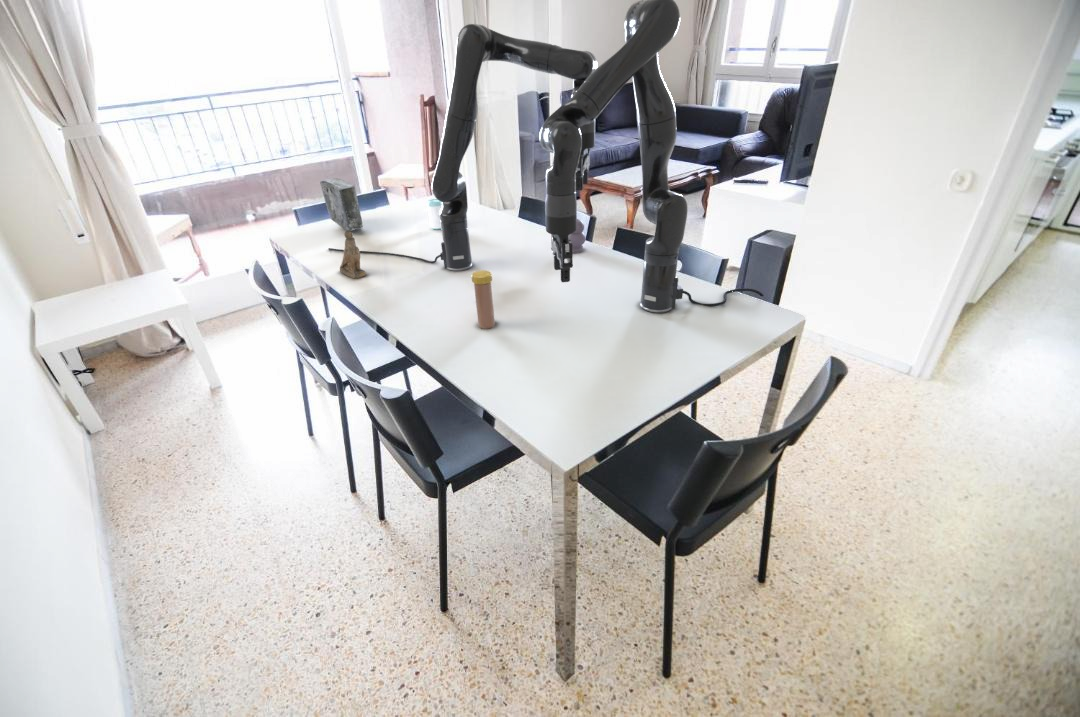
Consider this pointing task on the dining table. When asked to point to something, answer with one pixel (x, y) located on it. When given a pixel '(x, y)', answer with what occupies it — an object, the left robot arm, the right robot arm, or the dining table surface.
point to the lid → (481, 277)
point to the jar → (484, 305)
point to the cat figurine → (577, 237)
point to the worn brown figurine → (351, 258)
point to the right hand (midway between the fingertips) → (561, 275)
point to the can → (434, 213)
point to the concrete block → (342, 203)
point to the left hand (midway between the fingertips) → (581, 186)
